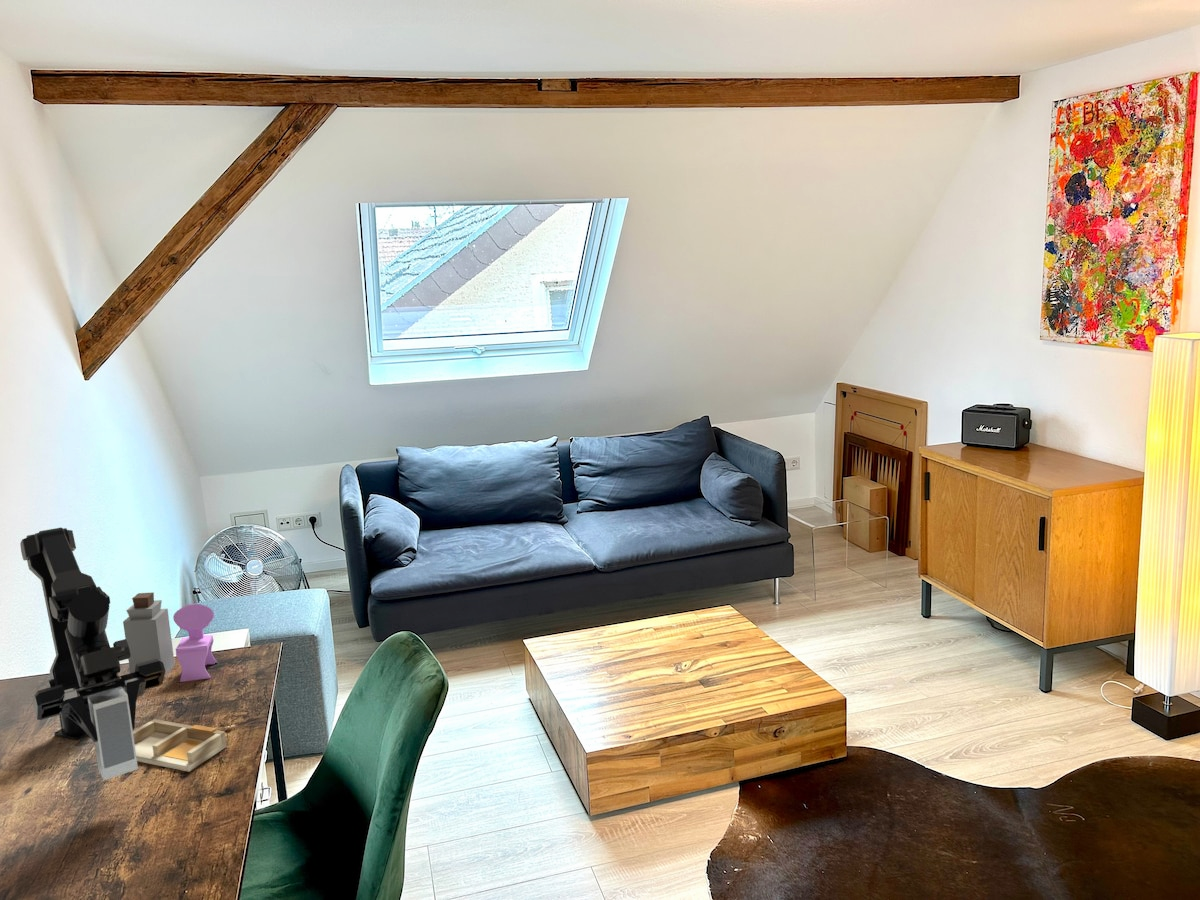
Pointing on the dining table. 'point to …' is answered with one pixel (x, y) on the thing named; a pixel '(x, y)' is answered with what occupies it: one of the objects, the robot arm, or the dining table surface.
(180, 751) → the cream divided tray
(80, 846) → the dining table surface
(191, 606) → the toy chair
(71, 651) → the robot arm
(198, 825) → the dining table surface
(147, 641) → the perfume bottle
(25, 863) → the dining table surface
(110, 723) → the brushed steel block
